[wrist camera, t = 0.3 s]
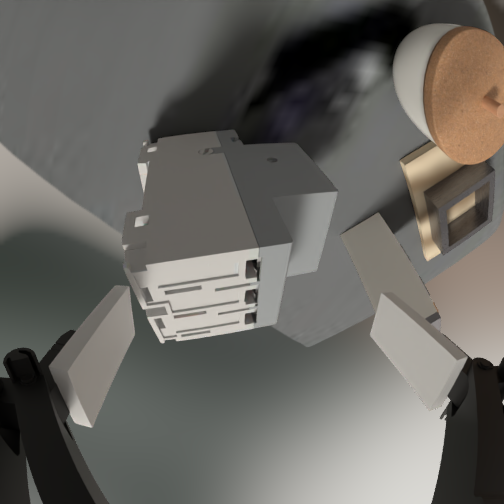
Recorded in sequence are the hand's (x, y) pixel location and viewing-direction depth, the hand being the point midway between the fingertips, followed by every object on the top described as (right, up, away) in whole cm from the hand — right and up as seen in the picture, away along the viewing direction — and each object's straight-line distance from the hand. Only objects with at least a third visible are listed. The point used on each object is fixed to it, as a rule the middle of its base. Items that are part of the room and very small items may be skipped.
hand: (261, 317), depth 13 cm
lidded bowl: (+16, +22, +6) cm, 28 cm away
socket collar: (+29, +11, +17) cm, 35 cm away
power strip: (+15, +5, +22) cm, 27 cm away
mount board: (+28, +11, +18) cm, 36 cm away
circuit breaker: (-3, +11, +12) cm, 17 cm away
